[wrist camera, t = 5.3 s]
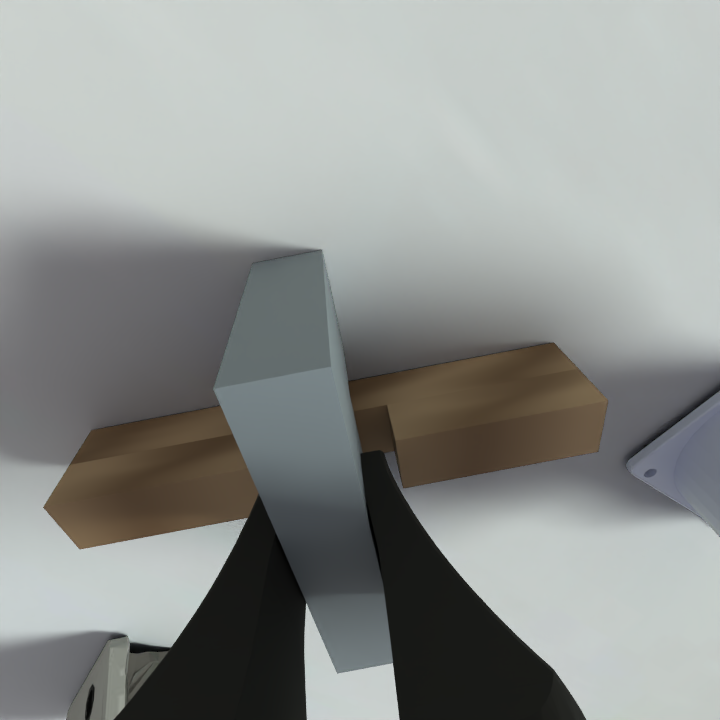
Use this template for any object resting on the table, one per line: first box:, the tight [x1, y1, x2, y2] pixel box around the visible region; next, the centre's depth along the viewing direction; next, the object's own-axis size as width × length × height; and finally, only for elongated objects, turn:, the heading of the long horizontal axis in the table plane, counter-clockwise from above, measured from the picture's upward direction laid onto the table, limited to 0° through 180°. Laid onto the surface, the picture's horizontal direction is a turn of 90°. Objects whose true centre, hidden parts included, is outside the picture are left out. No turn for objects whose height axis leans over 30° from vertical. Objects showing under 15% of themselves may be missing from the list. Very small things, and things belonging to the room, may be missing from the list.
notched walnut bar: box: [43, 343, 608, 549], centre depth 14 cm, size 16×2×3 cm, turn 99°
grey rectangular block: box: [213, 250, 393, 673], centre depth 13 cm, size 11×2×6 cm, turn 9°
